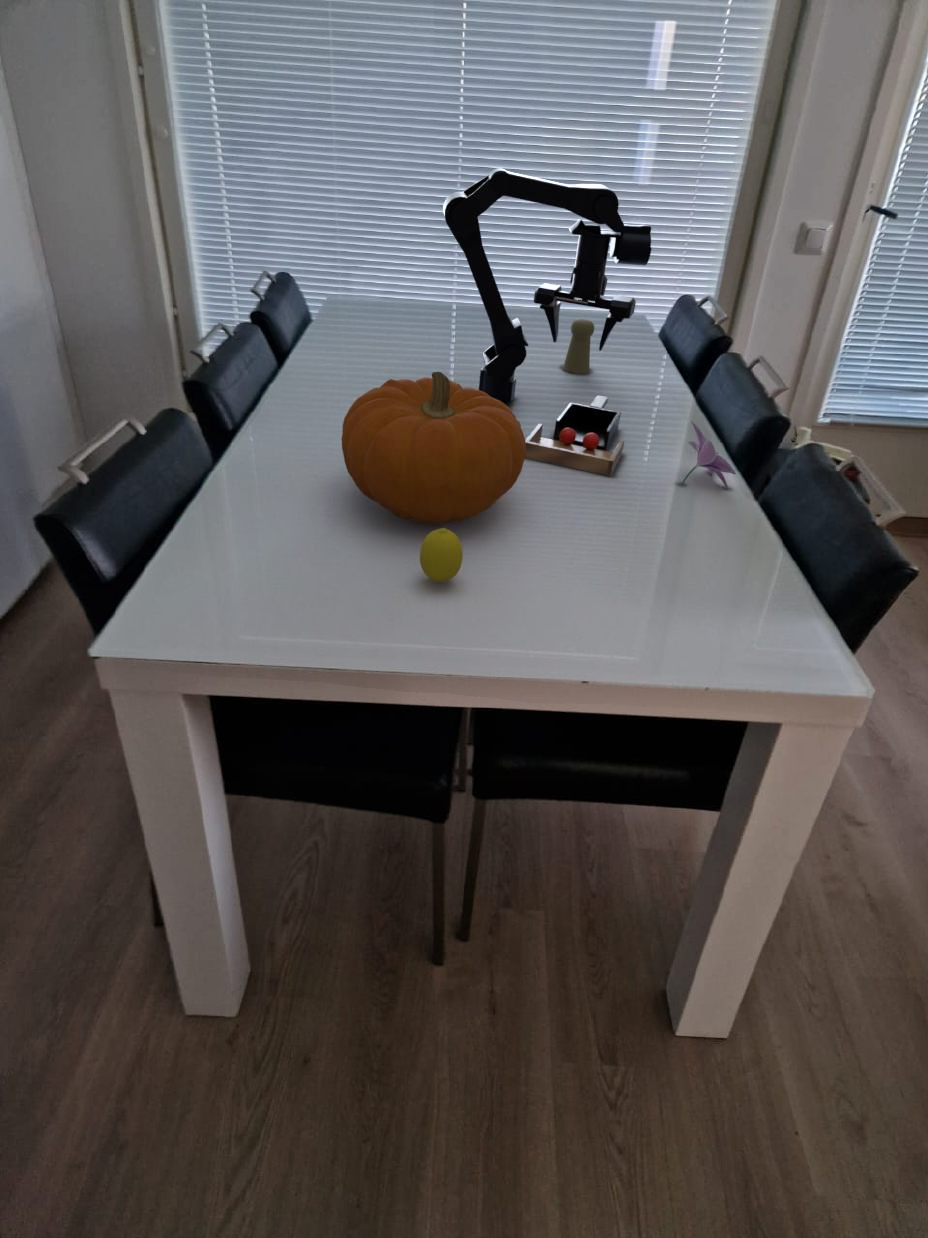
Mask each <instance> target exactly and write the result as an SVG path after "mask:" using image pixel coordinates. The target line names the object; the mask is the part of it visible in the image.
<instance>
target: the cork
mask: <svg viewBox="0 0 928 1238" xmlns="http://www.w3.org/2000/svg"><path fill="white" fill-rule="evenodd" d="M570 333H571V338H570V342H569V345H568V347H567V348H568V349H567V351H566V355H565V359H564V362H563V365H562V369H563V371H565V372H567V373H569V374H570V373H571V374H576V375H577V374H578V375H585V374H588V373H590V361H591V360H590V357H591V338H592V336H593V334H594V333H595V324H594V323H593V322H592V321H591V320H589V319H586V318H578V319H577V318H576V319H575V320H574V319H573V321H572V323H571V325H570Z"/></svg>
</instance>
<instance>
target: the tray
mask: <svg viewBox="0 0 928 1238" xmlns="http://www.w3.org/2000/svg"><path fill="white" fill-rule="evenodd" d="M543 427H544V426H543V423H538V424H537V425H536V426H535V427H534V429H533V430H532V431H531V432H530V434H529V435H528V436H527V437H526V438H525V442H526V456H525V459H529V460H533V461H538V462H542V463H548V464H552V465H556V466H557V465H558V466H561V467H566V468H571V469H575V470H579V471H583V472H584V471H585V472H587V473H588V472H589V473H593V474H598V475H603V476H607V477H611V476H612V475H613V473H614V471H615V469H616V467H617V465H618V463H619V461H620V459H621V457H622V455H623V450H624V446H625V441H624V440H619V442H618V443H617V445H616V447H615V449H614V450H613V451H608V450H605V449H600V448H595V449H592V450H590V449H587V448H585V447H584V445H581V444H576V443H571V444H564V443H562V442H561V441H560V440H557V439H553V438H547V437H542V432H543Z"/></svg>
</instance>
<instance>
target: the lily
mask: <svg viewBox="0 0 928 1238" xmlns="http://www.w3.org/2000/svg"><path fill="white" fill-rule="evenodd" d="M690 422H691V425H692V427H693V429H694V431H695V434H696V438H697V442H696V441H693V440H692V441H691V440H690V441H688V445H690V446H692V448H693V449H694V450H695V452H697V460H696V465H694V466H693V468H691V470H690V471H689V472H688V473H687V474H686V476H685V477H684V479H683V480H682V482H681V483H680V485H684V483H685V482H686V480H687V479H688V478H689V476H690V475H691V474H692V473H693V471H695V469H697V468H698V467H701V468H705V469H707V470H708V473H710V474H716V475H717V477H718V478H719V479H720V481H721V482H722V483H723V485H724V486H725V488H726V489H727V490H728V487H729V486H728V483H727V481H726V478H725V476H724V474H723V473H725V474H732V475H737V473H736V471H735V469H734V468H733V467H732V465H731V464H730V463H729V461H727V459H725V458H724V457H723V456H721V455H719V452H718V451H717V450H716V448H715V446H714V444H713V442H712V440H709V439H708V440H707V438H706V435H704V433H703V431H702V430H701V429H700V428H699V426H697V424H696V422H694V421H693V420H690Z"/></svg>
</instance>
